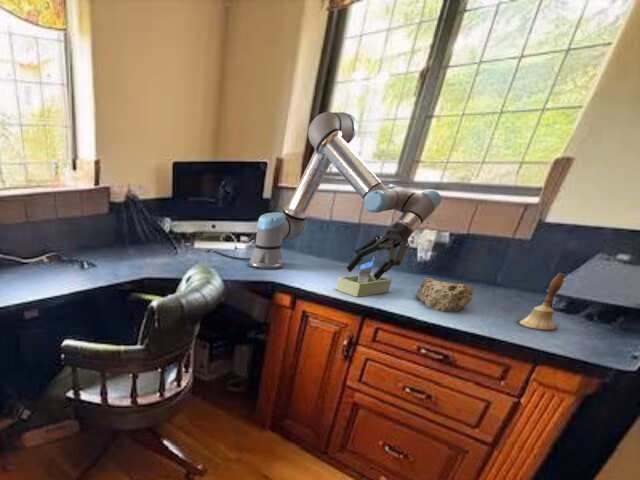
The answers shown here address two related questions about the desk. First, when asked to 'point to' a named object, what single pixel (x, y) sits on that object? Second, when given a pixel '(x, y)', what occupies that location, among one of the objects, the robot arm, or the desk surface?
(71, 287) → the desk surface
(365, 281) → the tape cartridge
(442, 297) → the rock
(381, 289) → the dock
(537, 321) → the hand bell
